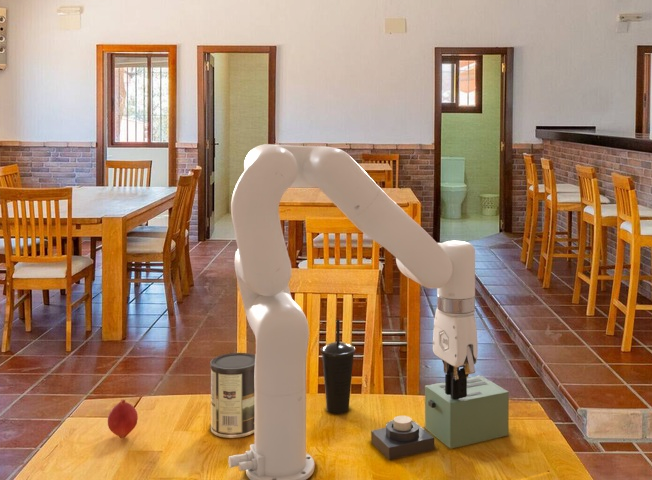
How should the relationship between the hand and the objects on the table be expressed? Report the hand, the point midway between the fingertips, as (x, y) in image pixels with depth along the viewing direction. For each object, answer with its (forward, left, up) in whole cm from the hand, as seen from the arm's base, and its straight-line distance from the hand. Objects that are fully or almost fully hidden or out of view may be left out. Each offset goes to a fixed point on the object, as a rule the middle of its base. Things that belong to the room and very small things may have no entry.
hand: (455, 394), depth 142 cm
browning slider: (0, 0, 0) cm, 0 cm away
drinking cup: (-15, +24, -10) cm, 30 cm away
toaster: (+5, +3, -10) cm, 11 cm away
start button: (-10, +3, -6) cm, 12 cm away
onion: (-60, +30, -10) cm, 68 cm away
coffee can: (-38, +25, -10) cm, 47 cm away
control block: (-10, +3, -10) cm, 14 cm away
